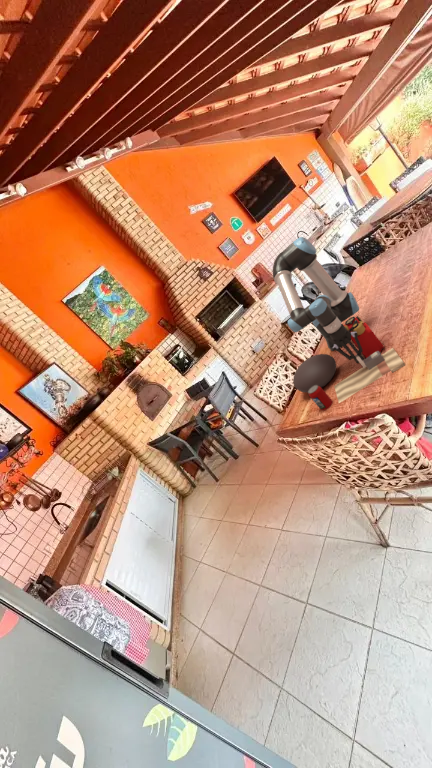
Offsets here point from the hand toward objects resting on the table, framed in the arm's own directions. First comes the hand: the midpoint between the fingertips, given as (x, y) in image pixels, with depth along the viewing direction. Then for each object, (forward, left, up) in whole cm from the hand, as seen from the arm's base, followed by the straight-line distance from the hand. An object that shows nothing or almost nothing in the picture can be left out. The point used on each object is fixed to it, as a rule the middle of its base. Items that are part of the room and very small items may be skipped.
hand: (364, 366), depth 180 cm
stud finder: (0, +5, -2) cm, 5 cm away
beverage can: (+9, -24, -3) cm, 26 cm away
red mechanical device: (-16, +6, -3) cm, 17 cm away
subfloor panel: (+5, -2, -3) cm, 6 cm away
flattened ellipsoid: (-17, -24, -3) cm, 29 cm away
